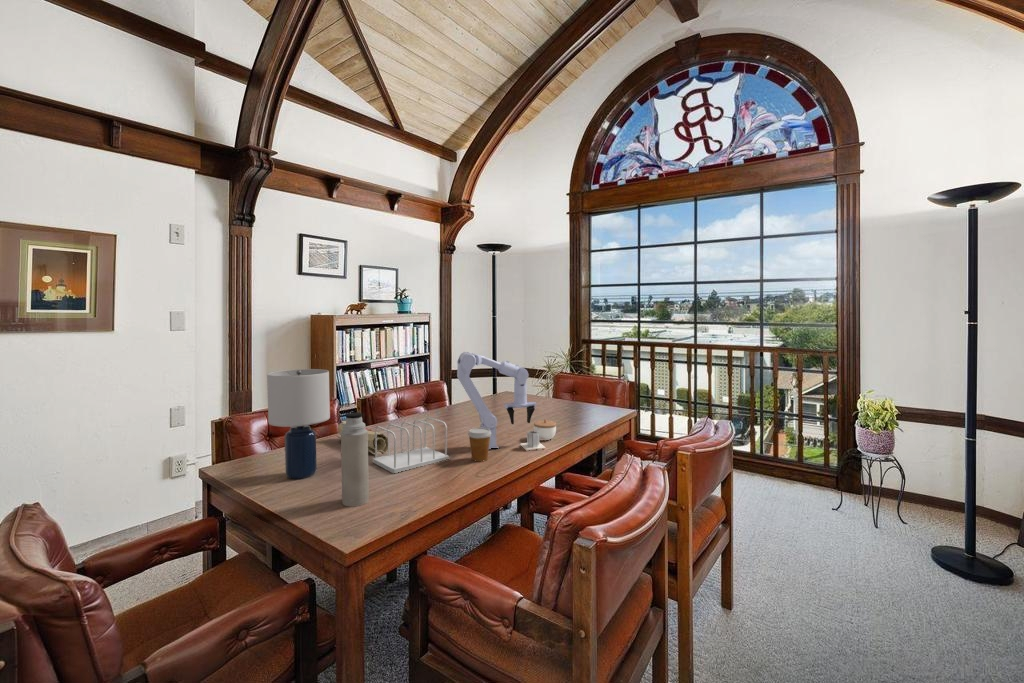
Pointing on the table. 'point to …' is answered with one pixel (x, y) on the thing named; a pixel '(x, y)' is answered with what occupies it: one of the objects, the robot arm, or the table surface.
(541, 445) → the white peg stand
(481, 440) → the disposable coffee cup
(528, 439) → the collar
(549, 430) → the lidded jar
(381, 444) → the scroll
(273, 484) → the table surface
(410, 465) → the file sorter
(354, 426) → the thermos bottle
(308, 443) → the lamp
